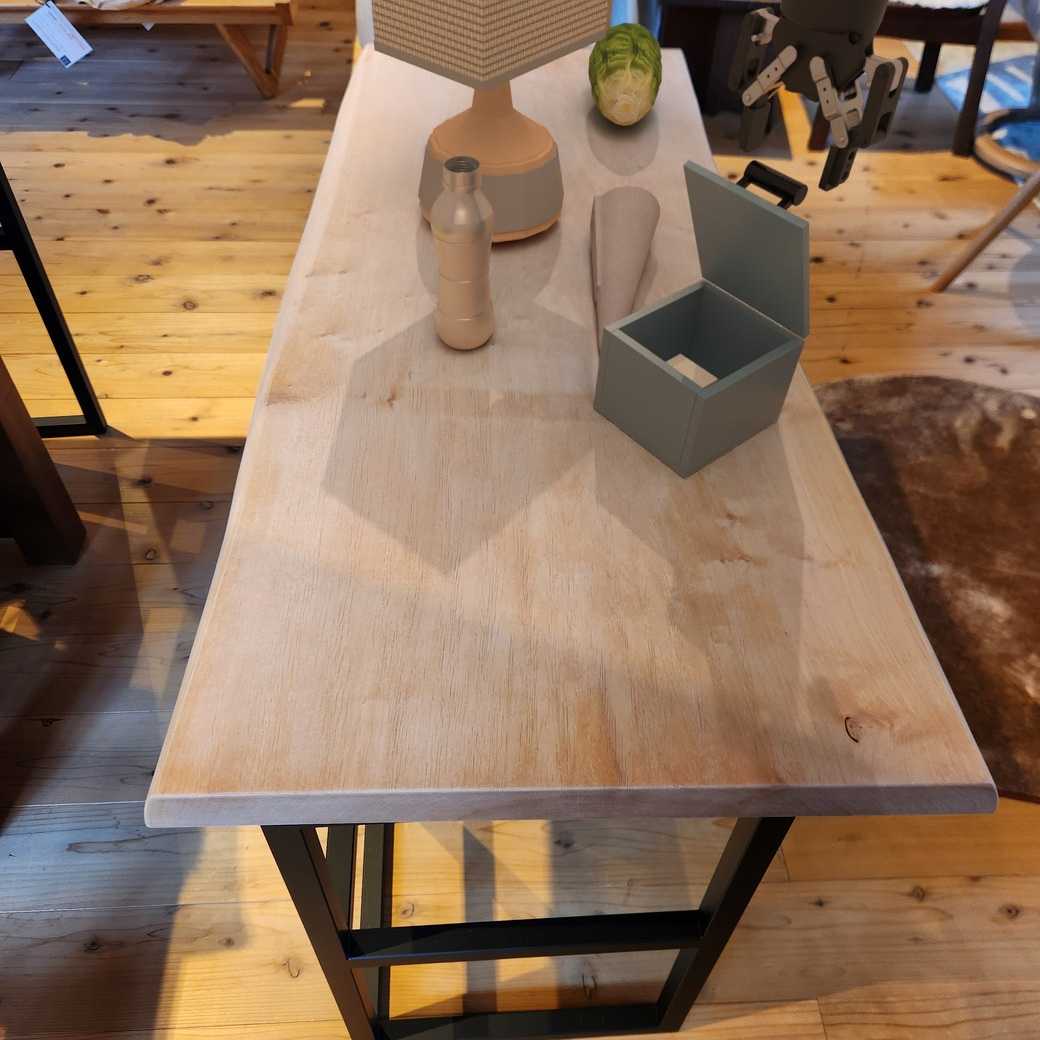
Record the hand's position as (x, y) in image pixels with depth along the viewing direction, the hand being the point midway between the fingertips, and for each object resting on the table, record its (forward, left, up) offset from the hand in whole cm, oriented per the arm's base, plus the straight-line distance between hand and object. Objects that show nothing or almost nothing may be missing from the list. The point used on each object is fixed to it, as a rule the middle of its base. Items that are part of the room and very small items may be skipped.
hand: (787, 167), depth 72 cm
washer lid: (+1, +2, -7) cm, 8 cm away
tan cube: (+3, +7, -23) cm, 25 cm away
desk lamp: (+39, -19, -25) cm, 50 cm away
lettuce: (+35, -57, -25) cm, 72 cm away
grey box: (+3, +6, -24) cm, 25 cm away
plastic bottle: (+29, +6, -25) cm, 38 cm away
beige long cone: (+16, -11, -25) cm, 31 cm away
